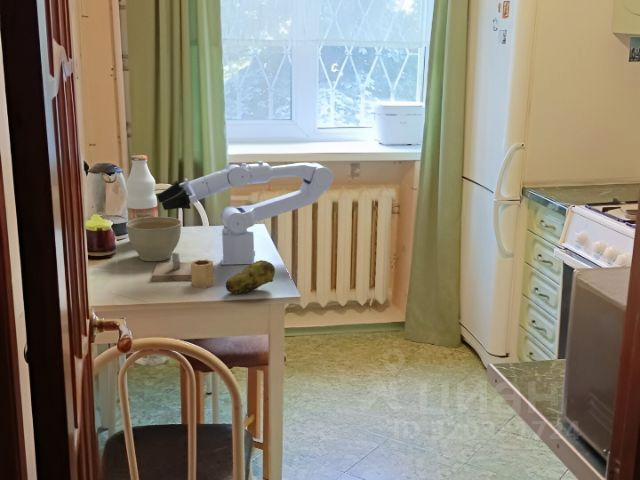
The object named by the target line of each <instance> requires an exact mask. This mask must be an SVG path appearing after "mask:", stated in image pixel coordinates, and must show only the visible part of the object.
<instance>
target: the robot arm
mask: <svg viewBox="0 0 640 480" xmlns="http://www.w3.org/2000/svg"><path fill="white" fill-rule="evenodd" d="M289 177H290V178H291V177H299V178H301V179H302V184H301V185H300V187H299V190H296V191H295V190H294V191H293V192H289V193H286V194H283V195H280V196H277V197H274V198H270V199H267V200H264V201H261V202H257V203H254V204H251V205H241V206H226V207H225V208H223V210H222V211H221V212H220V216H219V217H220V222H221V224H222V225H223V228H222V230H221V237H222V239H221V240H222V241H221V242H222V255H221V256H222V257H221V264H220V265H222V266H225V265H229V266H230V265H251V264H253V263H255V257H256V250H255V243H254V242H255V240H254V239H255V237H254V236H255V235H254V231H247V229H248V228H251V227H253V226H255V225H256V224H257V222H260V221H263V220H267V219H270V218H273V217H277V216H278V215H282V214H285V213H288V212H289V213H290V212H291V211H295V210H298V209H301V208H304V207H307V206H310V205H312V204H313V203H315V202H316V201H317V200H318V199H319V198H320V197H321V196H322V194H324V193H325V192H326V191H328V190H329V189H330V188H331V185H332V183H333V181H334V173H333V172H332V170H331V169H330V168H329V167H326V166H324V165H321V164H320V163H318V162H311V163H310V162H296V163H289V164H283V165H282V164H281V165H275V166H271V165H270V164H268V163H267V162H264V161H263V160H258V161H257V163H251V164H250V163H249V164H248V163H246V162H242V163H241V166H240V165H238V164H228V165H226V167H225V168H224V169H220V170H219V171H218V170H217V171H215V172H212V173H210V174H206V175H204V176H200V177H198V178H195V179H192V180H191V181H189V179H188V178H184V182H181V183H179V181H178V180H175V181H174V182H173V183H172V185H170V186H168V188H167V189H165V190H163V191H162V192H160V193H159V194H157V195H156V198H157V199H158V200H157V201H158V202H159V203H161V205H162V207H163V210H164V211H168V210H176V209H186V210H190V209H191V205H193V204H195V203H198V202H199V201H198V200H202V199H205V198H207V197H209V196H213V195H216V194H218V193H220V192H223V191H226V190H228V189H230V188H233V187H237V188H242V187H244V186H245V185H253V184H254V185H255V184H264V183H269V182H270V181H271V180H272V179H273V178H289ZM190 204H191V205H190Z"/></svg>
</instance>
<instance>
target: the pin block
mask: <svg viewBox="0 0 640 480" xmlns="http://www.w3.org/2000/svg"><path fill="white" fill-rule="evenodd" d="M171 259H172V260H171V261H172V262H157V264H156V266H155V268H154V271H153V272H152V275H151V281H152V282H160V281H167V280H169V281H192V276H191V262H192V261H191V262H190V261H186V262H185V261H184V262H183V261H182V262H181V259H180V252H176V251H175V252H174V251H173V252H172V256H171Z"/></svg>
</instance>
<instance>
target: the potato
mask: <svg viewBox="0 0 640 480" xmlns="http://www.w3.org/2000/svg"><path fill="white" fill-rule="evenodd" d="M275 272H276V268H275V266H274V264H273V263H271V262H269V261H268V260H263V259H261V260H257V261H254V263H253V264H248V266H247V267H246V268H244V269H243V270H241V272H238V273H236V274H234V275H232V276H230V277H229V278H228V279H227V280H226V281H225V288H226V289H225V290H226V291H227V292H228V293H230V294H239V293H246V292H251V291H253V290H257V289H258V288H260V287H262V286H264V285H266V284H268V283H273V281H274V277H275Z"/></svg>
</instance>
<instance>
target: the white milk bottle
mask: <svg viewBox="0 0 640 480" xmlns="http://www.w3.org/2000/svg"><path fill="white" fill-rule="evenodd" d="M130 158H131V159H130V160H131V164H132V166H131V168H130V173H129V176H127V179H126V183H125V185H126V190H127V193H128V194H127V196H126V197H127V198H126V208H127V219H128V221H127V222H129V221H131V220H134V219H139V218H146V217H159V211H158V200H157V199H158V197H157V195H156V192H155V191H156V185H157V184H156V180H155V178H154V177H153V175H152V174H151V171H150V169H149V167H148V163H147V162H148V156H147V155H144V154H136V155H132V156H131V157H130Z"/></svg>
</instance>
